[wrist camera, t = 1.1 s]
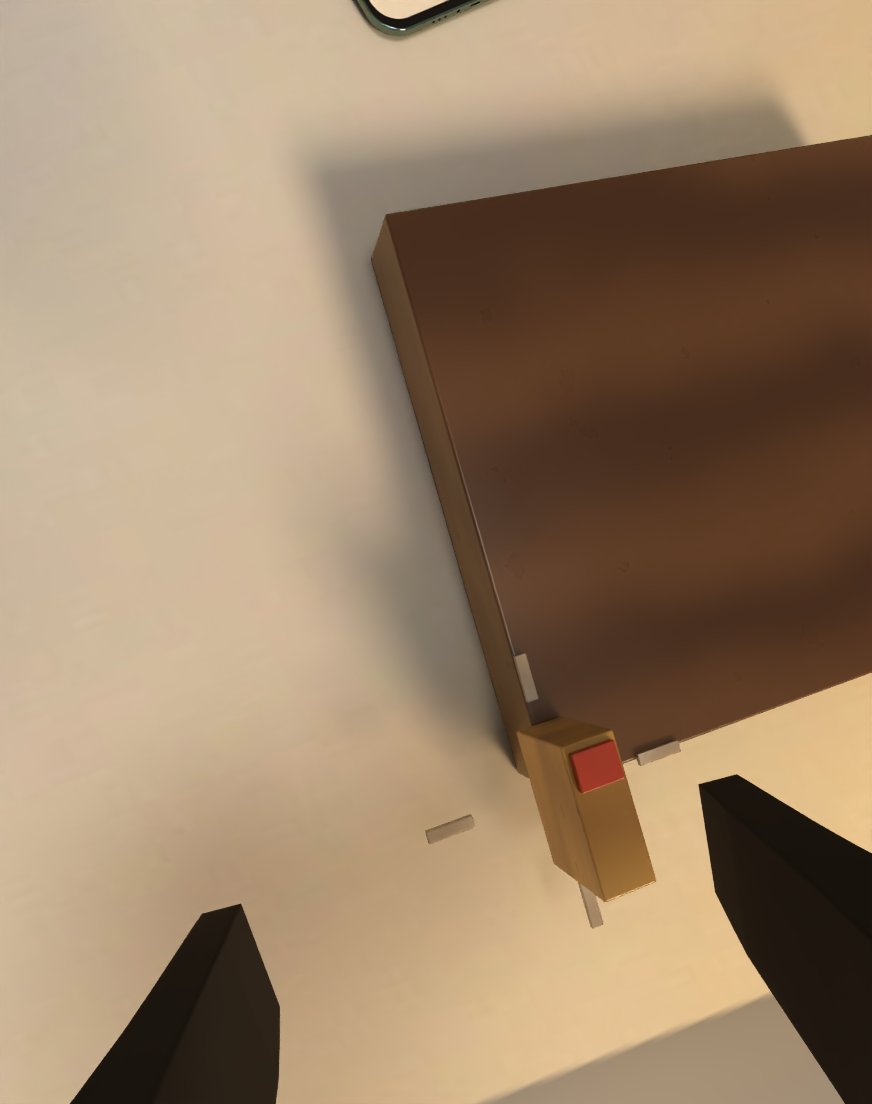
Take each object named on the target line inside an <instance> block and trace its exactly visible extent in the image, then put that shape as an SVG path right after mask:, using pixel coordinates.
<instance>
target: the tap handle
mask: <svg viewBox="0 0 872 1104" xmlns="http://www.w3.org/2000/svg"><path fill="white" fill-rule="evenodd" d="M517 736H518V740H519V743H520V747H521V750H522V754H523V757H524V761H525V764H526V768H527V771H528V775H529V778H530V782H531V785H532V788H533V792H534V795H535V799H536V802H537V806H538V809H539V813H540V816H541V820H542V823H543V827H544V830H545V834H546V837H547V841H548V844H549V848H550V851H551V855H552V858H553V862H554V864H555V865H556V866H558V867H559V868H560V869H562V870H563V871H564V872H566V873H567V874H568V875H570V876H571V877H572V878H574V879H575V880H576V881H578V882H579V883H580V884H582V885H583V886H584V887H586V888H587V889H588V890H590V891H591V892H592V893H594V894H595V895H596V896H598V897H599V898H600V899H602V900H603V901H604V902H608V901H610V900H613V899H615V898H617V897H620V896H622V895H625V894H627V893H630V892H632V891H634V890H637V889H639V888H642V887H644V886H647V885H649V884H651V883H654V882H656V878H655V874H654V871H653V868H652V864H651V861H650V857H649V854H648V850H647V847H646V844H645V840H644V837H643V833H642V830H641V826H640V823H639V820H638V816H637V813H636V809H635V806H634V802H633V799H632V796H631V792H630V789H629V785H628V782H627V778H626V775H625V771H624V768H623V765H622V761H621V758H620V754H619V751H618V747H617V744H616V741H615V737H614V734H613V731H612V730H611V729H607V728H603V727H599V726H596V725H592V724H588V723H584V722H580V721H577V720H573V719H569V718H565V717H558V718H555V719H552V720H549V721H546V722H543V723H540V724H537V725H534V726H531V727H528V728H525V729H523V730H520V731H518V732H517Z"/></svg>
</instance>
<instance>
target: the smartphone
mask: <svg viewBox="0 0 872 1104" xmlns="http://www.w3.org/2000/svg"><path fill="white" fill-rule="evenodd" d="M357 1H358V3H359V5H360V6H361V8H362V10H363V11H364V13H365V15H366V16H367V18H368V20H369V21H370V22H371V23H372V24H373V25H374V26H375V27H376V28H377V29H378V30H380V31H382V32H383V33H386V34H388V35H392V36H406V35H409V34H412V33H414V32H416V31H419V30H421V29H423V28H426V27H428V26H430V25H433V24H435V23H437V22H440V21H442V20H444V19H447V18H449V17H451V16H453V15H456V14H458V13H460V12H463V11H465V10H467V9H470V8H472V7H474V6H477V5H479V4H481V3H484V2H486V1H488V0H357Z"/></svg>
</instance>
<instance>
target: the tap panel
mask: <svg viewBox="0 0 872 1104" xmlns="http://www.w3.org/2000/svg"><path fill="white" fill-rule="evenodd" d="M372 263H373V267H374V270H375V274H376V277H377V281H378V284H379V288H380V291H381V295H382V298H383V302H384V305H385V309H386V312H387V316H388V319H389V323H390V326H391V330H392V333H393V337H394V340H395V344H396V347H397V351H398V354H399V358H400V361H401V365H402V368H403V372H404V375H405V379H406V382H407V386H408V389H409V393H410V396H411V400H412V403H413V406H414V410H415V413H416V417H417V420H418V424H419V427H420V431H421V434H422V438H423V441H424V445H425V448H426V452H427V455H428V459H429V462H430V466H431V469H432V473H433V476H434V480H435V483H436V487H437V490H438V494H439V497H440V501H441V504H442V508H443V511H444V515H445V518H446V522H447V525H448V529H449V532H450V536H451V539H452V543H453V546H454V550H455V553H456V557H457V560H458V564H459V567H460V571H461V574H462V578H463V581H464V585H465V588H466V592H467V595H468V599H469V602H470V606H471V609H472V613H473V616H474V620H475V623H476V627H477V630H478V634H479V637H480V641H481V644H482V648H483V651H484V655H485V658H486V661H487V665H488V668H489V672H490V675H491V679H492V682H493V686H494V689H495V693H496V696H497V700H498V703H499V707H500V710H501V714H502V717H503V721H504V724H505V728H506V731H507V735H508V738H509V742H510V745H511V749H512V752H513V756H514V759H515V763H516V766H517V770H518V772H519V773H520V774H521V775H523V776H525V777H527V778H529V775H528V771H527V768H526V764H525V761H524V757H523V754H522V750H521V747H520V743H519V740H518V736H517V732H518V731H520V730H523V729H525V728H528V727H531V726H534V725H537V724H540V723H543V722H546V721H549V720H552V719H555V718H558V717H565V718H569V719H573V720H577V721H580V722H584V723H588V724H592V725H596V726H599V727H603V728H607V729H611V730H612V731H613V734H614V737H615V741H616V744H617V747H618V751H619V754H620V758H621V761H622V764H624V763H626V762H629V761H632V760H634V759H637V761H638V764H639V765H640V766H643V765H645V764H648V763H651V762H653V761H656V760H659V759H661V758H664V757H667V756H670V755H672V754H675V753H678V752H680V751H681V750H680V747H679V743H681V742H684V741H686V740H689V739H692V738H694V737H697V736H700V735H703V734H705V733H708V732H711V731H714V730H716V729H719V728H722V727H724V726H727V725H730V724H733V723H735V722H738V721H741V720H744V719H746V718H749V717H752V716H754V715H757V714H760V713H763V712H765V711H768V710H771V709H774V708H776V707H779V706H782V705H784V704H787V703H790V702H793V701H795V700H798V699H801V698H804V697H806V696H809V695H812V694H814V693H817V692H820V691H823V690H825V689H828V688H831V687H834V686H836V685H839V684H842V683H844V682H847V681H850V680H853V679H855V678H858V677H861V676H864V675H866V674H869V673H872V135H870V136H864V137H857V138H851V139H845V140H839V141H833V142H827V143H821V144H815V145H808V146H802V147H796V148H790V149H784V150H778V151H772V152H765V153H759V154H753V155H747V156H741V157H735V158H729V159H723V160H716V161H710V162H704V163H698V164H692V165H686V166H680V167H673V168H667V169H661V170H655V171H649V172H643V173H637V174H631V175H624V176H618V177H612V178H606V179H600V180H594V181H588V182H581V183H575V184H569V185H563V186H557V187H551V188H545V189H539V190H532V191H526V192H520V193H514V194H508V195H502V196H496V197H489V198H483V199H477V200H471V201H465V202H459V203H453V204H447V205H440V206H434V207H428V208H422V209H416V210H410V211H404V212H397V213H391V214H387V215H385V218H384V221H383V224H382V227H381V231H380V234H379V237H378V240H377V243H376V246H375V249H374V252H373V255H372ZM529 779H530V778H529ZM472 828H475V824H474V820H473V817H472V815H471V814H470V815H467V816H464V817H462V818H459V819H456V820H453V821H451V822H448V823H445V824H442V825H440V826H437V827H434V828H431V829H429V830H426V831H425V832H426V836H427V839H428V843H429V844H432V843H434V842H437V841H440V840H442V839H445V838H448V837H451V836H453V835H456V834H459V833H461V832H464V831H467V830H469V829H472ZM578 884H579V888H580V891H581V895H582V898H583V902H584V905H585V908H586V912H587V915H588V919H589V922H590V926H591V927H592V928H593V929H594V928H596V927H598V926H601V925H603V921H602V917H601V914H600V910H599V907H598V903H597V900H596V896H595V894H594V893H592V892H591V891H590V890H588V889H587V888H586V887H584V886H583V885H582V884H580V883H579V882H578Z"/></svg>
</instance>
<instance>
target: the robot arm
mask: <svg viewBox="0 0 872 1104" xmlns="http://www.w3.org/2000/svg"><path fill="white" fill-rule="evenodd" d="M699 791H700V797H701V804H702V810H703V816H704V823H705V829H706V836H707V842H708V849H709V855H710V862H711V868H712V875H713V881H714V887H715V893H716V895H717V897H718V899H719V901H720V903H721V905H722V907H723V909H724V911H725V913H726V915H727V917H728V919H729V921H730V923H731V925H732V927H733V929H734V931H735V933H736V934H737V936H738V938H739V940H740V942H741V944H742V946H743V948H744V950H745V952H746V954H747V955H748V957H749V958H750V960H751V962H752V963H753V965H754V966H755V968H756V969H757V971H758V972H759V974H760V975H761V977H762V979H763V980H764V982H765V983H766V985H767V986H768V988H769V989H770V991H771V992H772V994H773V995H774V997H775V998H776V1000H777V1001H778V1003H779V1004H780V1006H781V1007H782V1009H783V1010H784V1012H785V1013H786V1015H787V1016H788V1018H789V1020H790V1021H791V1023H792V1024H793V1025H794V1027H795V1029H796V1030H797V1032H798V1033H799V1035H800V1036H801V1038H802V1039H803V1041H804V1042H805V1044H806V1045H807V1047H808V1048H809V1050H810V1051H811V1053H812V1054H813V1056H814V1057H815V1059H816V1060H817V1062H818V1063H819V1065H820V1066H821V1068H822V1069H823V1071H824V1072H825V1074H826V1075H827V1077H828V1078H829V1080H830V1081H831V1083H832V1084H833V1086H834V1087H835V1089H836V1090H837V1092H838V1093H839V1095H840V1097H841V1098H842V1100H843V1101H844V1103H845V1104H872V853H870V852H868V851H866V850H864V849H862V848H861V847H859V846H857V845H855V844H853V843H851V842H850V841H848V840H846V839H844V838H843V837H841V836H839V835H837V834H835V833H834V832H832V831H830V830H828V829H827V828H825V827H823V826H821V825H820V824H818V823H816V822H815V821H813V820H811V819H810V818H808V817H806V816H805V815H803V814H801V813H800V812H798V811H796V810H795V809H793V808H791V807H790V806H788V805H786V804H785V803H783V802H781V801H780V800H778V799H777V798H775V797H773V796H772V795H770V794H768V793H767V792H765V791H763V790H762V789H760V788H759V787H757V786H755V785H754V784H752V783H750V782H749V781H747V780H745V779H744V778H742V777H740V776H739V775H733V776H729V777H725V778H721V779H717V780H714V781H710V782H706V783H702V784H699ZM279 1050H280V1006H279V1003H278V1001H277V998H276V995H275V993H274V990H273V987H272V985H271V982H270V979H269V977H268V974H267V971H266V969H265V966H264V963H263V961H262V958H261V955H260V953H259V950H258V947H257V945H256V942H255V939H254V937H253V934H252V931H251V929H250V926H249V923H248V921H247V918H246V915H245V913H244V910H243V907H242V905H241V904H238V905H234V906H230V907H226V908H223V909H219V910H215V911H211V912H207V913H203V914H202V915H201V916H200V918H199V919H198V920H197V922H196V923H195V925H194V926H193V928H192V929H191V931H190V932H189V934H188V935H187V937H186V938H185V940H184V941H183V943H182V944H181V946H180V948H179V949H178V951H177V952H176V954H175V955H174V957H173V958H172V960H171V961H170V963H169V964H168V966H167V967H166V969H165V970H164V972H163V973H162V975H161V976H160V978H159V979H158V981H157V983H156V984H155V986H154V987H153V989H152V990H151V992H150V993H149V995H148V996H147V998H146V999H145V1000H144V1002H143V1003H142V1005H141V1006H140V1008H139V1009H138V1011H137V1012H136V1014H135V1015H134V1017H133V1018H132V1020H131V1021H130V1023H129V1024H128V1025H127V1027H126V1028H125V1030H124V1031H123V1033H122V1034H121V1036H120V1037H119V1038H118V1040H117V1041H116V1042H115V1044H114V1045H113V1046H112V1048H111V1049H110V1050H109V1052H108V1053H107V1054H106V1056H105V1057H104V1059H103V1060H102V1061H101V1063H100V1064H99V1065H98V1067H97V1068H96V1069H95V1071H94V1072H93V1073H92V1075H91V1076H90V1077H89V1079H88V1080H87V1082H86V1083H85V1084H84V1086H83V1087H82V1088H81V1090H80V1091H79V1092H78V1094H77V1095H76V1096H75V1098H74V1099H73V1100H72V1102H71V1103H70V1104H276V1097H277V1089H278V1080H279Z"/></svg>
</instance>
